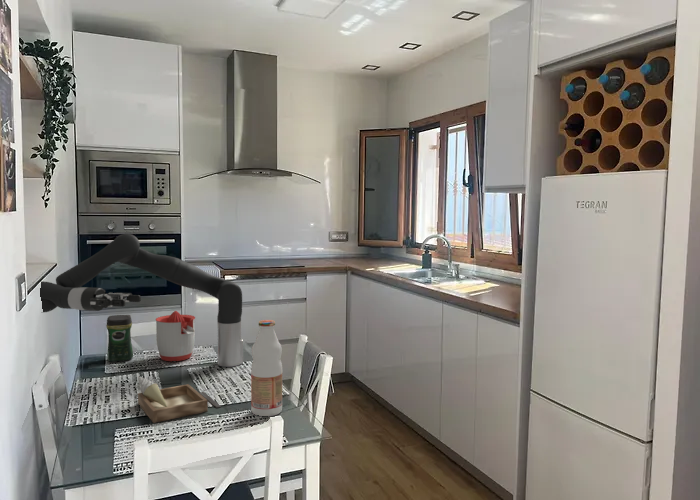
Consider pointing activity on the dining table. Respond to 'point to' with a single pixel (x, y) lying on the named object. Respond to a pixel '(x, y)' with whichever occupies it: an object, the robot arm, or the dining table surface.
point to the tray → (176, 403)
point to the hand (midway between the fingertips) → (132, 300)
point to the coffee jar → (119, 338)
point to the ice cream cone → (151, 390)
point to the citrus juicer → (175, 336)
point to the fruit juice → (266, 372)
